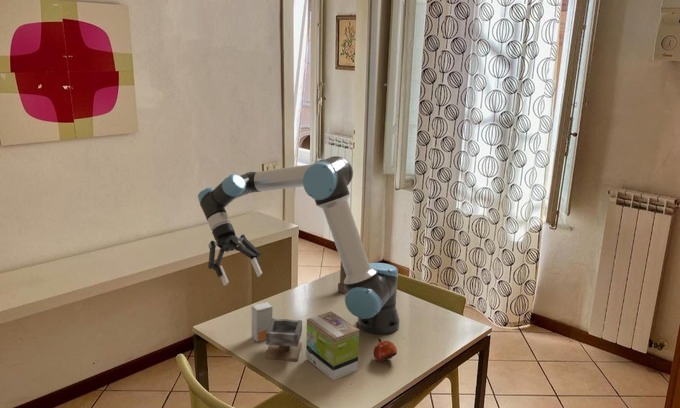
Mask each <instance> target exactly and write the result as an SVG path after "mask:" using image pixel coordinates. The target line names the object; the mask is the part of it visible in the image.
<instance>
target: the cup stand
mask: <svg viewBox="0 0 680 408" xmlns="http://www.w3.org/2000/svg"><path fill="white" fill-rule="evenodd" d="M302 333H303V320H301V319H288V318H287V319H284V318H272V319H271V322H270V324H269V327H268V329H267V332H266V340H265V345H266V346H267V345H269V347H268V349H267V353H266V354H265V359H267V360H268V359H269V360H280V361H281V360H282V361H295V362H297V361H298V360H299V356H300V353H301V349H302V344H303V342H300V341H301V337H302Z"/></svg>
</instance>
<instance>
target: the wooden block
mask: <svg viewBox="0 0 680 408" xmlns="http://www.w3.org/2000/svg"><path fill="white" fill-rule="evenodd" d="M339 269H340V271H339V282H338V284H337V291H338V292H339V293H342V294H347V290H346V287H345V284H344V280H345V278H346V273H345V270H344V267H343V265H342V262H341V261H340V267H339Z"/></svg>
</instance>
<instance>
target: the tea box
mask: <svg viewBox="0 0 680 408" xmlns="http://www.w3.org/2000/svg"><path fill="white" fill-rule="evenodd" d="M305 343H306V345H305V346H306V351H305V352H306V355H305V356H306V357H305V358H306V359H307V361H309V362H310V363H311V364H313V365H314V366H315V367H316V368H317V369H319V370H320V371H321V372H322V373H323V374H325V375H326V376H327V377H328V378H329V379H330V380H332V381H335V380H338V379H341V378H343V377H346V376H348V375H351V374H353V373H355V372H357V371H358V366H359V365H358V364H359V348H360V346H359V345H360V344H359V343H360V329H359V328H358V327H356V326H355V325H354V324H351V323H350V322H348V321H347V320H345V319H343V318H342V317H340V316H339V315H337V314H336V313H334V312H333V311H330V310H329V311H327V312H324V313H322V314H319V315H315V316H311V317H309V318H307V319H306V342H305Z"/></svg>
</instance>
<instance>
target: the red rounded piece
mask: <svg viewBox="0 0 680 408" xmlns="http://www.w3.org/2000/svg"><path fill="white" fill-rule="evenodd" d="M377 340H378V343H377V344H376V345H375V346H374V348H373V357H374V359H375V360H377V362H378V363H382V362H384V361H387V362H388V364H389V366H390V368H392V366H391V362H390V360H392V359H393V357H395V356H396V355H397V353H398V349H397V346H396V345H395V344H394V343H393V342H392V341H390V340H383V341H382V340H381V338H380V337H379V338H377Z"/></svg>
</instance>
